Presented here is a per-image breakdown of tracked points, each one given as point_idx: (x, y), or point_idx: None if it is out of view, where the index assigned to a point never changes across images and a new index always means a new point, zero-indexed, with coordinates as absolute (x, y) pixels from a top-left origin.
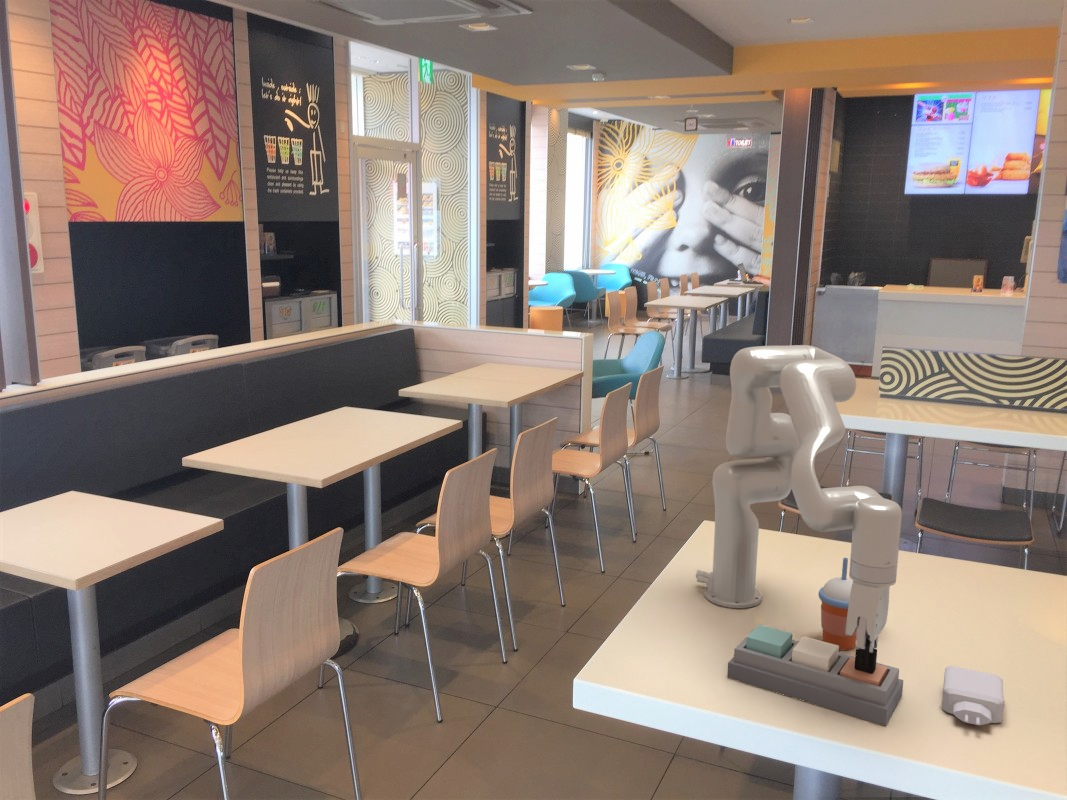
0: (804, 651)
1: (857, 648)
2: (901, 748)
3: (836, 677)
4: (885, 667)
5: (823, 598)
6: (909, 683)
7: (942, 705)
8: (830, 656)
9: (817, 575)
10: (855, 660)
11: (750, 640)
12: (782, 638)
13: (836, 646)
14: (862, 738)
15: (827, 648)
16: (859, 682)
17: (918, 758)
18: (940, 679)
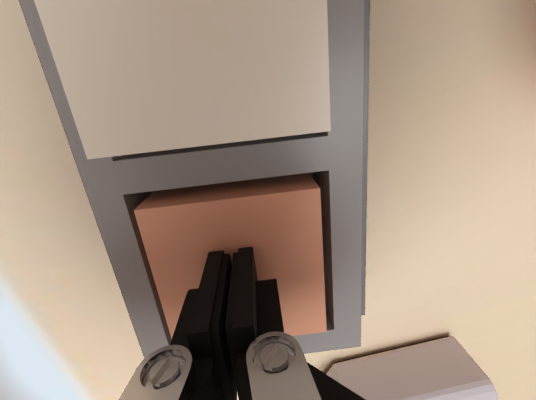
0: None
1: (144, 370)
2: (100, 355)
3: (94, 206)
4: (318, 327)
5: None
6: (429, 272)
7: (335, 372)
8: (135, 151)
9: None
10: (203, 276)
11: None
12: None
13: (308, 122)
14: (59, 286)
15: (235, 84)
16: (138, 290)
17: (94, 386)
18: (490, 315)
